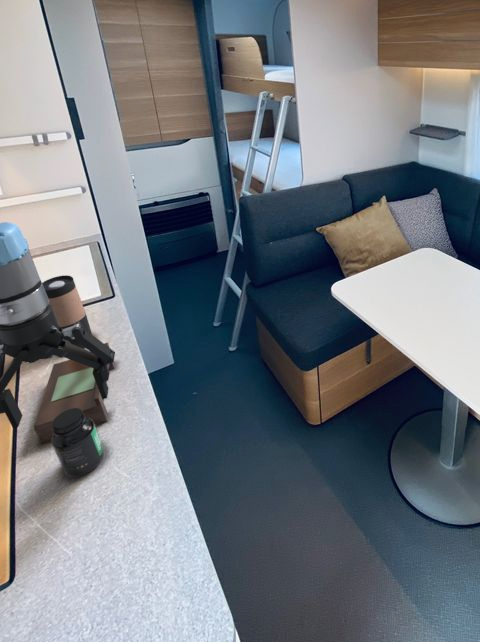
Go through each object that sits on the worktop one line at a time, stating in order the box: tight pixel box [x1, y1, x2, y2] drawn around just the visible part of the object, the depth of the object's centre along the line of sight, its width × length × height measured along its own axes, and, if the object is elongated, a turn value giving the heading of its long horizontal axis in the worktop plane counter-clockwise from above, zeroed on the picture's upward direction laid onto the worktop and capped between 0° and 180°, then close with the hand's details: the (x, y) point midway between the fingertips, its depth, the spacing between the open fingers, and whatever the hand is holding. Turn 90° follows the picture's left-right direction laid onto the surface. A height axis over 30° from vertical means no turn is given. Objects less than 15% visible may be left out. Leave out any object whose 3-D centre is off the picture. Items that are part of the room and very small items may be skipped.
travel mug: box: [42, 274, 93, 349], centre depth 111 cm, size 8×8×20 cm
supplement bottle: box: [50, 408, 106, 478], centre depth 80 cm, size 7×7×12 cm
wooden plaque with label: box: [33, 342, 116, 444], centre depth 95 cm, size 12×20×7 cm, turn 26°
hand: (63, 407), depth 76 cm, fingers open, 13 cm apart
